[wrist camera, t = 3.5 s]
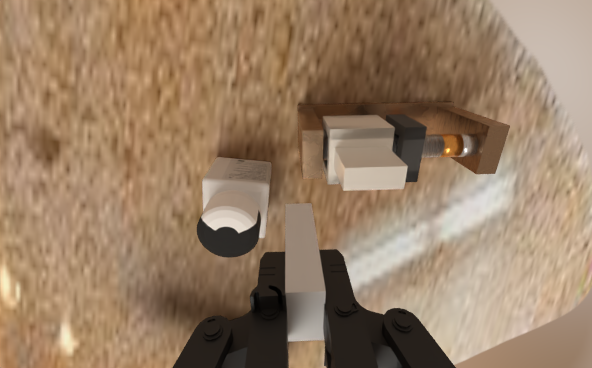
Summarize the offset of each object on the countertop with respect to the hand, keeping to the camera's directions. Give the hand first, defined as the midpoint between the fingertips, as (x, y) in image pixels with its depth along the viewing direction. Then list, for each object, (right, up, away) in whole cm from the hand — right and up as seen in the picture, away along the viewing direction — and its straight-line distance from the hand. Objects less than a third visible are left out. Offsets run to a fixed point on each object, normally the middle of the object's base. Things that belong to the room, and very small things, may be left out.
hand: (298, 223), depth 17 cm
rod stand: (+10, +10, +21) cm, 26 cm away
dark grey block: (+11, +7, +16) cm, 20 cm away
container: (-8, +2, +24) cm, 26 cm away
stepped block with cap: (+6, +7, +16) cm, 18 cm away
